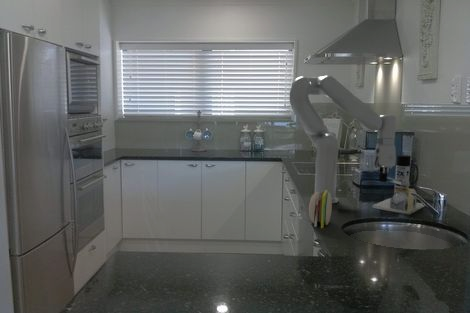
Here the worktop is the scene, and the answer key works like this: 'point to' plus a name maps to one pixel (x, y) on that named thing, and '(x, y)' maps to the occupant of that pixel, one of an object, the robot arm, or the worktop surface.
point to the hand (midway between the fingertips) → (382, 181)
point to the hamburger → (320, 208)
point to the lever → (402, 183)
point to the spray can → (402, 170)
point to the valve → (400, 202)
